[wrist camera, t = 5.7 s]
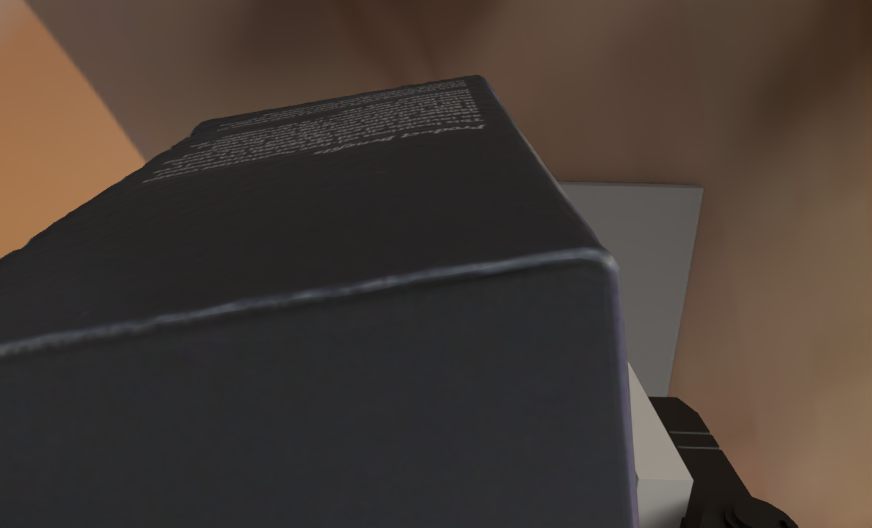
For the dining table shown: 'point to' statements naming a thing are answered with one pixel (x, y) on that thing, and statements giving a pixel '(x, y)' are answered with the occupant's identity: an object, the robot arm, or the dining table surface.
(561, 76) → the dining table surface
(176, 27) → the dining table surface
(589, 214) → the felt mat
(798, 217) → the dining table surface
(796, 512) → the dining table surface
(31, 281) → the small box
